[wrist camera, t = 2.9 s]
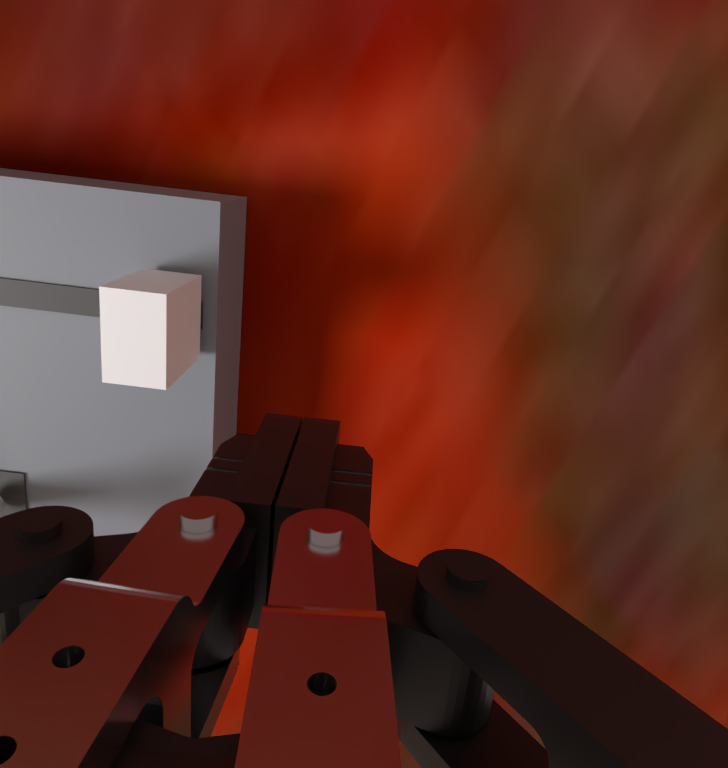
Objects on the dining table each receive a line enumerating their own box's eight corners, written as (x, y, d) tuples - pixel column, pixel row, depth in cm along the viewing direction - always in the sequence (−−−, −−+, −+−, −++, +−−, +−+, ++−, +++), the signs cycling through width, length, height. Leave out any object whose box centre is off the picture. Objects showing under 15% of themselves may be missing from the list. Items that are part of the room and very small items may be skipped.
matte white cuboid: (201, 275, 21) (166, 294, 18) (199, 357, 22) (165, 389, 19) (144, 268, 22) (99, 286, 18) (145, 350, 22) (102, 382, 19)
